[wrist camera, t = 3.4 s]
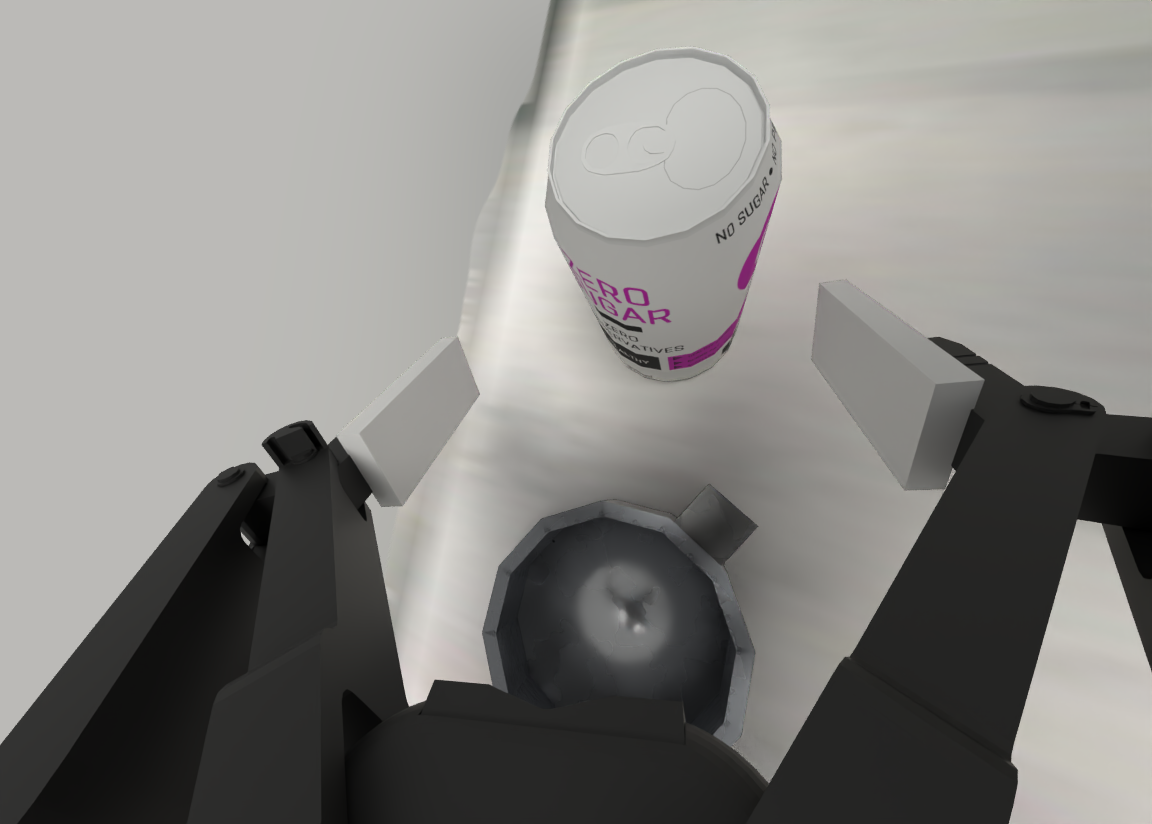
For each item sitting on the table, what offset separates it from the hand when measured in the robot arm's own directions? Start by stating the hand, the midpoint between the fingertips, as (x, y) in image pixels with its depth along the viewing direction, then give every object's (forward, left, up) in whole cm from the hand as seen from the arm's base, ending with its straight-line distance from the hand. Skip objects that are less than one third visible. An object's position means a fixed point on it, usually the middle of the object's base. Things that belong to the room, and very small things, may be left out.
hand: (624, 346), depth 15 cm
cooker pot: (+11, +7, -12) cm, 18 cm away
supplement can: (-5, -3, -12) cm, 13 cm away
